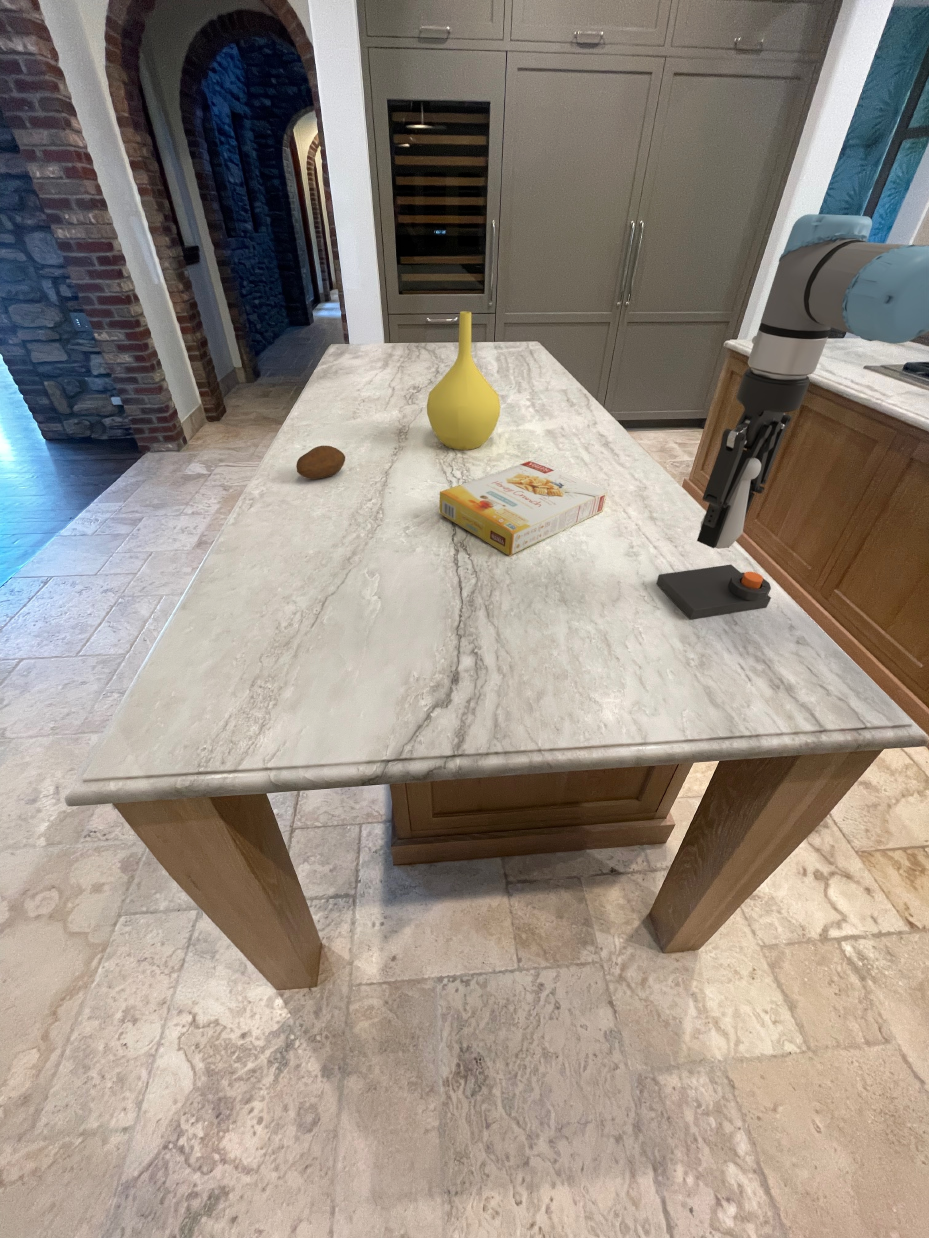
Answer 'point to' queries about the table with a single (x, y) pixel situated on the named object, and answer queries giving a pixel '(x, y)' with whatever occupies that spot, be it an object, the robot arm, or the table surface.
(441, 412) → the vase
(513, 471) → the cereal box
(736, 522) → the salt shaker
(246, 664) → the table surface
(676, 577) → the scale
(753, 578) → the button
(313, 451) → the potato
